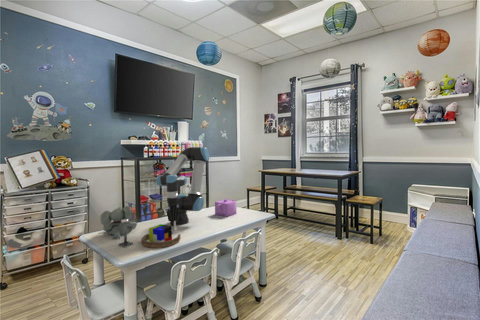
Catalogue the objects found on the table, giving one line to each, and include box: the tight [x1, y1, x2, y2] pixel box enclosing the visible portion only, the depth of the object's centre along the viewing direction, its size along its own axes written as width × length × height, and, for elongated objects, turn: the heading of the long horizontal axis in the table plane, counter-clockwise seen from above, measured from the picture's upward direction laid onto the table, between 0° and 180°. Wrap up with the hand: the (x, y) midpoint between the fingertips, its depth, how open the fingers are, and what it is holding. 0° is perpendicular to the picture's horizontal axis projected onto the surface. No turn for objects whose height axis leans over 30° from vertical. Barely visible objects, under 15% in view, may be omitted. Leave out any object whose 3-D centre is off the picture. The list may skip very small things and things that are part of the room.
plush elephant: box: [100, 206, 137, 240], centre depth 189 cm, size 27×22×21 cm
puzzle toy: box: [148, 223, 173, 242], centre depth 171 cm, size 10×10×10 cm
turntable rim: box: [141, 233, 181, 249], centre depth 171 cm, size 24×21×3 cm
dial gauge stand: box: [118, 218, 138, 248], centre depth 166 cm, size 8×8×16 cm
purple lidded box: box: [214, 198, 237, 218], centre depth 243 cm, size 15×25×14 cm, turn 142°
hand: (173, 229), depth 184 cm, fingers closed
